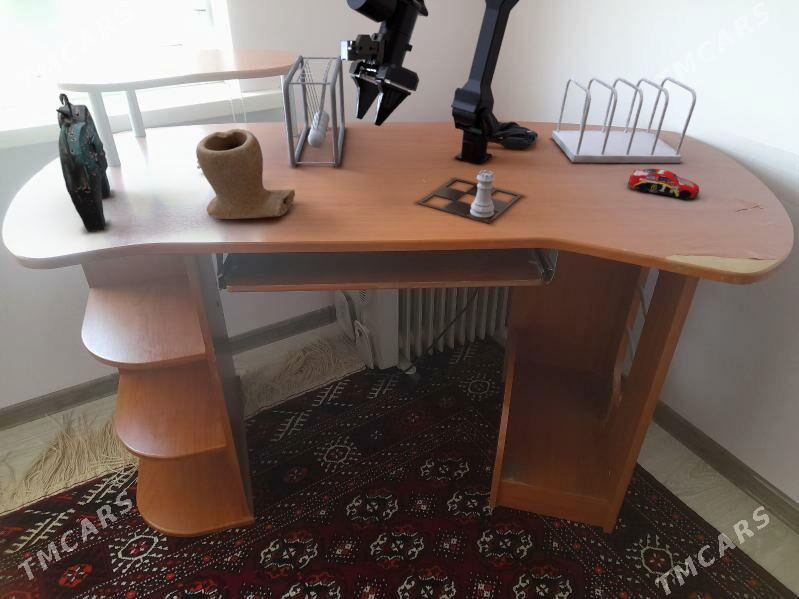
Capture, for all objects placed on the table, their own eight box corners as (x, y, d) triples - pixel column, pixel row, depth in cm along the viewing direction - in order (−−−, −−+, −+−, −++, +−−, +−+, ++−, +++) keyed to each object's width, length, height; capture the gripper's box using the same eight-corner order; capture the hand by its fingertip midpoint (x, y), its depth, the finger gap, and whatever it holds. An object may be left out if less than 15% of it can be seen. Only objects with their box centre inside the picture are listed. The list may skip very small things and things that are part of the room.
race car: (697, 193, 110) (704, 174, 108) (696, 203, 106) (703, 183, 104) (629, 180, 115) (634, 162, 112) (625, 189, 111) (630, 170, 108)
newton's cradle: (304, 126, 142) (298, 53, 132) (345, 127, 142) (342, 53, 132) (290, 169, 117) (281, 83, 107) (339, 169, 118) (334, 83, 108)
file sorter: (572, 163, 122) (586, 91, 114) (550, 138, 137) (562, 73, 128) (680, 163, 124) (703, 92, 115) (648, 138, 138) (666, 73, 129)
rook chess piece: (493, 220, 98) (498, 178, 94) (468, 218, 99) (472, 176, 94) (494, 210, 102) (499, 169, 97) (470, 207, 103) (474, 167, 98)
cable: (465, 148, 130) (467, 129, 128) (466, 130, 142) (468, 113, 139) (538, 152, 128) (541, 133, 126) (533, 133, 140) (536, 116, 137)
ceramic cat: (85, 190, 106) (50, 83, 95) (121, 186, 108) (90, 81, 97) (75, 235, 91) (31, 114, 80) (117, 230, 93) (80, 110, 82)
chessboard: (455, 179, 114) (455, 178, 114) (521, 195, 107) (522, 194, 107) (417, 203, 104) (417, 202, 104) (489, 224, 97) (489, 223, 97)
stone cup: (199, 229, 94) (180, 143, 85) (216, 200, 103) (201, 121, 95) (287, 229, 94) (277, 144, 86) (296, 201, 104) (288, 121, 95)
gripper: (336, 15, 99) (312, 102, 103) (374, 12, 83) (344, 113, 88) (389, 39, 104) (364, 120, 109) (434, 40, 89) (402, 134, 93)
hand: (367, 122), depth 99 cm, fingers open, 9 cm apart
